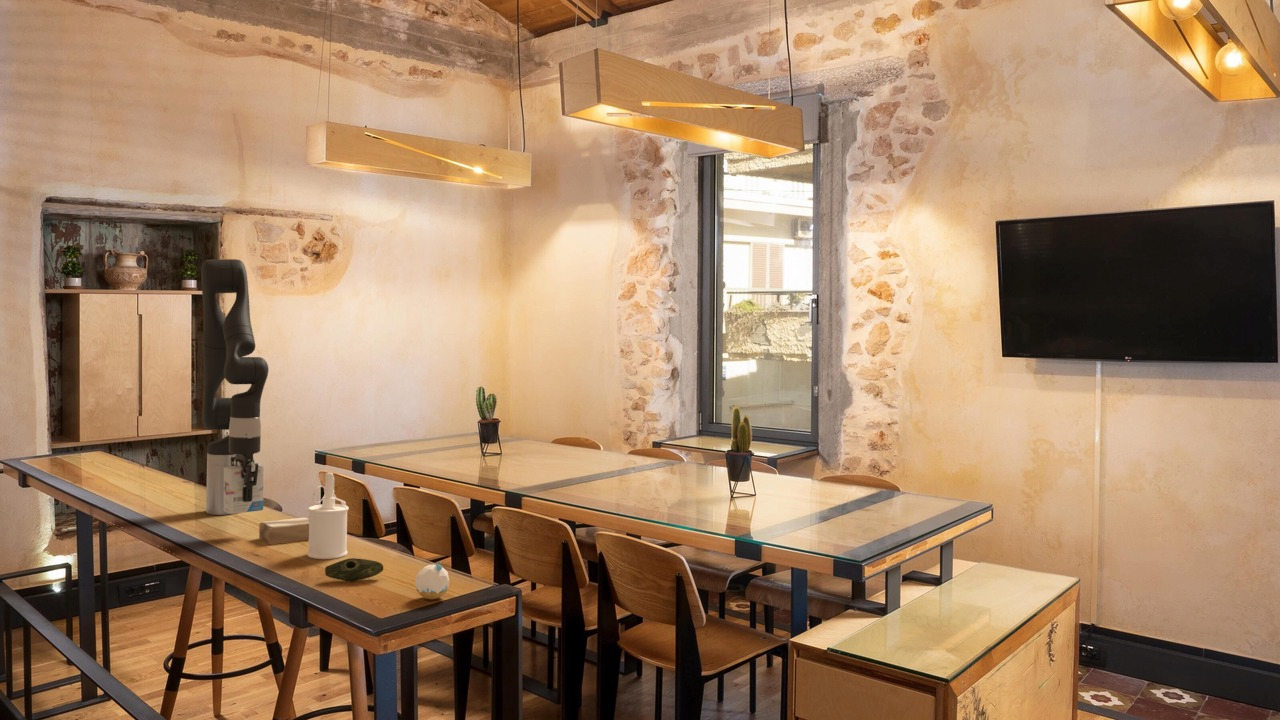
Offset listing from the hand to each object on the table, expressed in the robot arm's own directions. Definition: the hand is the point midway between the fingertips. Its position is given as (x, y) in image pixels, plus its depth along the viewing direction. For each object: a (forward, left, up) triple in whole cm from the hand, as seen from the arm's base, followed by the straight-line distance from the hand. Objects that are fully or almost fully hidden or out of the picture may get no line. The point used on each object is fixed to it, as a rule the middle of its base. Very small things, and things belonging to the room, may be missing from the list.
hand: (243, 499), depth 242 cm
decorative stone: (+54, +6, -10) cm, 56 cm away
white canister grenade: (+29, +11, -10) cm, 33 cm away
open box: (+8, +9, -10) cm, 15 cm away
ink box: (0, 0, -3) cm, 3 cm away
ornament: (+76, +13, -10) cm, 78 cm away
